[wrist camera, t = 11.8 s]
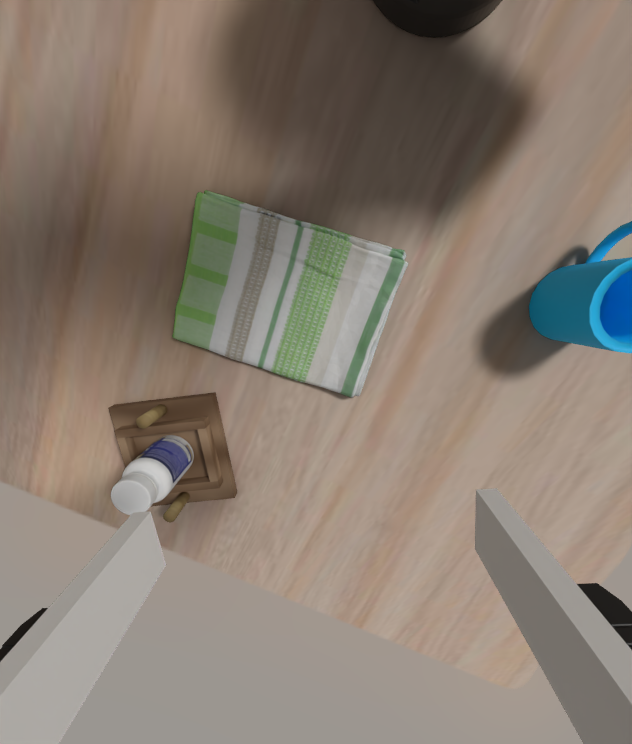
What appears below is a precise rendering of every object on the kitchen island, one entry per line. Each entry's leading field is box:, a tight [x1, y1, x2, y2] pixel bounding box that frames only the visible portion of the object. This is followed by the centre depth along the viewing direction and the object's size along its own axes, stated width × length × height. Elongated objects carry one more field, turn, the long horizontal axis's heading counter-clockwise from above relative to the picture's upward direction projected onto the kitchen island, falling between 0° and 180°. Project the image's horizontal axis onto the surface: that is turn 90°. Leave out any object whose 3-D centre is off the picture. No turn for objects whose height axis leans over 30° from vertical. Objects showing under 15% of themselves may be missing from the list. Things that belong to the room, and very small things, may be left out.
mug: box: [529, 221, 632, 353], centre depth 30 cm, size 12×8×8 cm
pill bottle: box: [111, 435, 194, 515], centre depth 34 cm, size 5×5×9 cm
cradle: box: [109, 393, 237, 522], centre depth 37 cm, size 14×13×5 cm
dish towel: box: [172, 190, 408, 398], centre depth 34 cm, size 17×23×4 cm
